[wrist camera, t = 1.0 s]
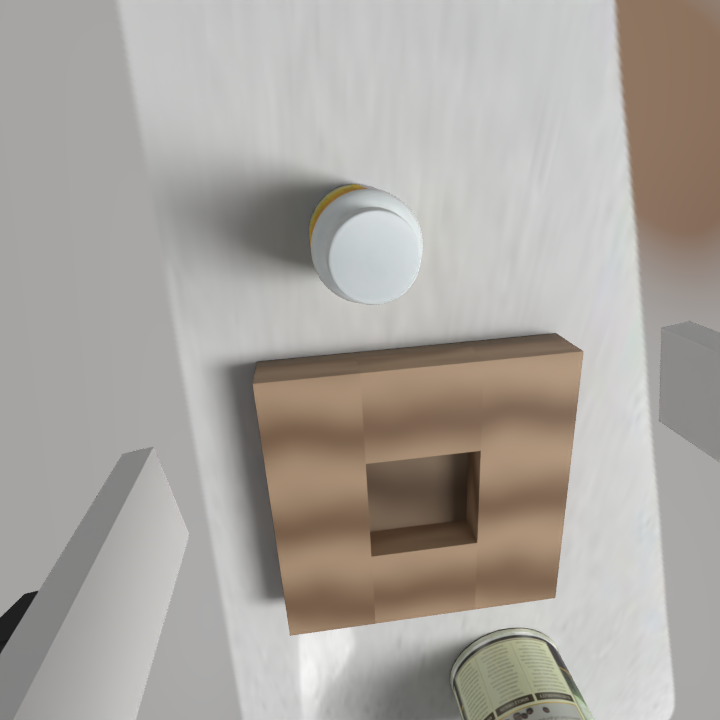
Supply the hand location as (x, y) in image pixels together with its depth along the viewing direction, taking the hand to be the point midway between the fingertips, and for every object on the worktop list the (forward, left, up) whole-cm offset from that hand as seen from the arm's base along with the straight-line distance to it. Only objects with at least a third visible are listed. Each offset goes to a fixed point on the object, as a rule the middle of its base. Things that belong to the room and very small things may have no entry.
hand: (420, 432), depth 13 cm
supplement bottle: (-2, -2, -20) cm, 20 cm away
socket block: (+4, +15, -20) cm, 25 cm away
